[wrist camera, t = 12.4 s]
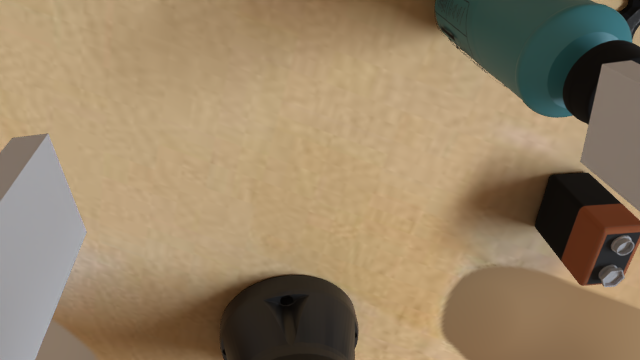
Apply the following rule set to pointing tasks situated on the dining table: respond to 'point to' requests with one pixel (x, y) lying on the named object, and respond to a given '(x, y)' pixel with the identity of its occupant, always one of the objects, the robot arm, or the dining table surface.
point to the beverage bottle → (541, 47)
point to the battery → (588, 229)
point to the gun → (632, 15)
